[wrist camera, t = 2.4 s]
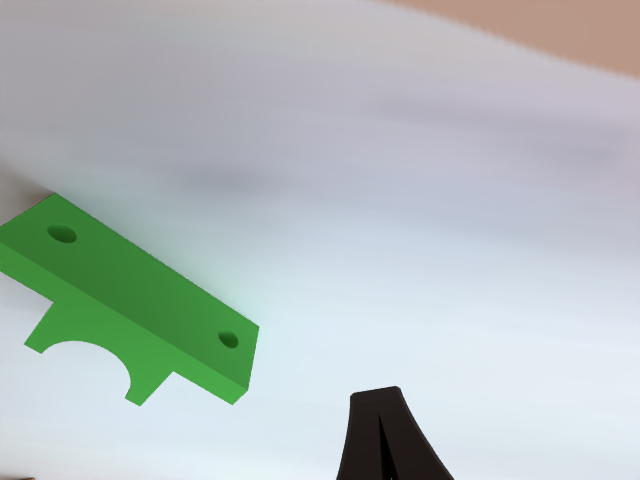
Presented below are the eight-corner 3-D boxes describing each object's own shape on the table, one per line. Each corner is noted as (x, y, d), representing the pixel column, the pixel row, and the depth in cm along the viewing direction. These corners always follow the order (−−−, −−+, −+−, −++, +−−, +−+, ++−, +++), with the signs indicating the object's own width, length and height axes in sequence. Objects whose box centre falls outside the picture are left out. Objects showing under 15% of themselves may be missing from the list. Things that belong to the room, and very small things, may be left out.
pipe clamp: (22, 247, 20) (-56, 302, 16) (58, 190, 19) (-14, 233, 15) (218, 368, 23) (197, 440, 19) (260, 325, 22) (248, 392, 18)
